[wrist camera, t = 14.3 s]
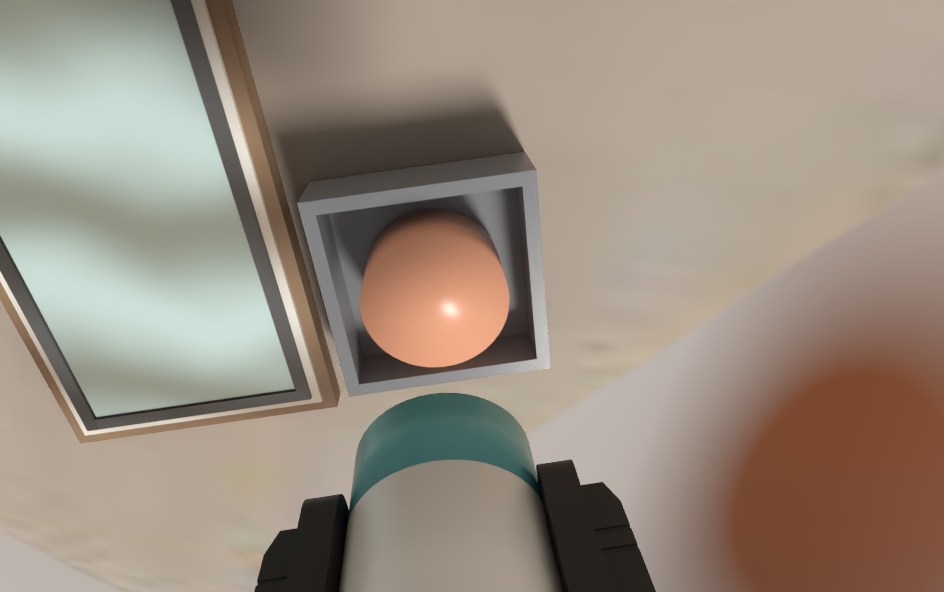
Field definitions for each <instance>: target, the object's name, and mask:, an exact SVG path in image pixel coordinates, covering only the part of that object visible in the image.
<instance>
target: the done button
mask: <svg viewBox="0 0 944 592" xmlns="http://www.w3.org/2000/svg"><path fill="white" fill-rule="evenodd" d="M360 311H361V316H362V319H363V323H364V325H365V327H366V329H367V331H368V333H369V334H370V336H371V337H372V339H373V340H374V341H375V342H376V343H377V345H378V346H379V347H381V348H382V349H383V350H384V351H385V352H387V353H388V354H390V355H391V356H393V357H395V358H397V359H399V360H401V361H403V362H406V363H409V364H412V365H416V366H422V367H446V366H451V365H456V364H459V363H462V362H465V361H467V360H469V359H471V358H473V357H475V356H477V355H478V354H480V353H481V352H483V351H484V350H485V349H486V348H488V347H489V346H490V345H491V344H492V343H493V342H494V340H495V339H496V338H497V336H498V335H499V333H500V332H501V330H502V328H503V326H504V324H505V322H506V319H507V315H508V311H509V291H508V286H507V282H506V279H505V275H504V272H503V268H502V265H501V261H500V258H499V255H498V252H497V249H496V247H495V245H494V243H493V241H492V239H491V238H490V236H489V235H488V234H487V233H486V232H485V231H484V229H483V228H482V227H480V226H479V225H478V224H477V223H475V222H474V221H472V220H471V219H469V218H467V217H465V216H463V215H461V214H458V213H455V212H451V211H446V210H436V209H431V210H421V211H416V212H413V213H410V214H407V215H404V216H402V217H400V218H398V219H397V220H395V221H394V222H392V223H391V224H389V225H388V226H387V227H386V228H385V229H384V230H383V231H382V232H381V233H380V234H379V235H378V237H377V238H376V240H375V241H374V243H373V245H372V247H371V249H370V251H369V255H368V258H367V263H366V268H365V273H364V278H363V282H362V287H361V293H360Z"/></svg>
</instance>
